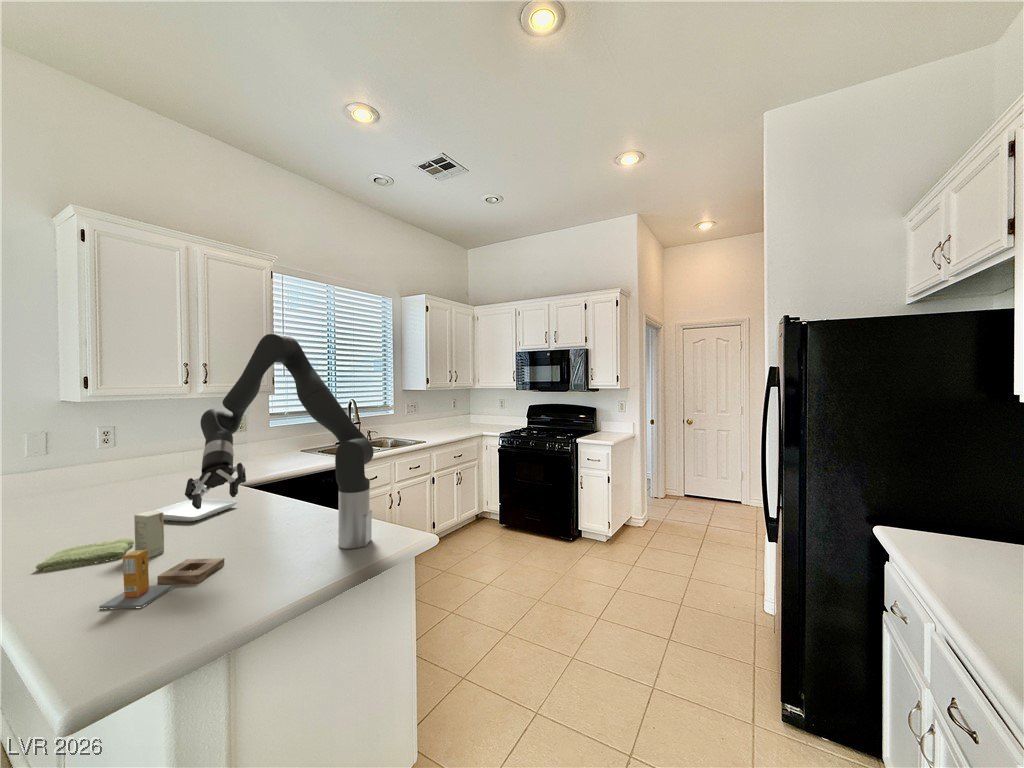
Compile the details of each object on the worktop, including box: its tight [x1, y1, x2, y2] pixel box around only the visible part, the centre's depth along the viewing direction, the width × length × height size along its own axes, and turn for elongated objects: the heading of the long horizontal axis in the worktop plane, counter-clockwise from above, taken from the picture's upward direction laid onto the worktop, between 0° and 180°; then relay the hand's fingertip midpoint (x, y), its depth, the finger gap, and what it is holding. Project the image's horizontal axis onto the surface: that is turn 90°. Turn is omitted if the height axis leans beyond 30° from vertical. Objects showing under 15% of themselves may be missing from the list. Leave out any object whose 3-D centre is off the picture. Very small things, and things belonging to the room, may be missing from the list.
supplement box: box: [122, 550, 150, 598], centre depth 96 cm, size 3×3×10 cm
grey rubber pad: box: [98, 584, 174, 609], centre depth 96 cm, size 9×9×1 cm
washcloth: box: [35, 537, 135, 573], centre depth 118 cm, size 13×18×3 cm
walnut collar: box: [157, 557, 225, 585], centre depth 108 cm, size 10×10×2 cm
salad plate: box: [153, 498, 239, 522], centre depth 158 cm, size 21×21×3 cm
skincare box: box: [134, 510, 165, 559], centre depth 121 cm, size 6×4×12 cm
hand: (215, 501), depth 111 cm, fingers open, 8 cm apart
